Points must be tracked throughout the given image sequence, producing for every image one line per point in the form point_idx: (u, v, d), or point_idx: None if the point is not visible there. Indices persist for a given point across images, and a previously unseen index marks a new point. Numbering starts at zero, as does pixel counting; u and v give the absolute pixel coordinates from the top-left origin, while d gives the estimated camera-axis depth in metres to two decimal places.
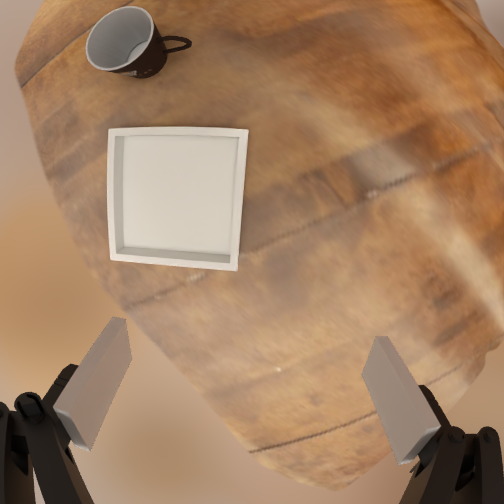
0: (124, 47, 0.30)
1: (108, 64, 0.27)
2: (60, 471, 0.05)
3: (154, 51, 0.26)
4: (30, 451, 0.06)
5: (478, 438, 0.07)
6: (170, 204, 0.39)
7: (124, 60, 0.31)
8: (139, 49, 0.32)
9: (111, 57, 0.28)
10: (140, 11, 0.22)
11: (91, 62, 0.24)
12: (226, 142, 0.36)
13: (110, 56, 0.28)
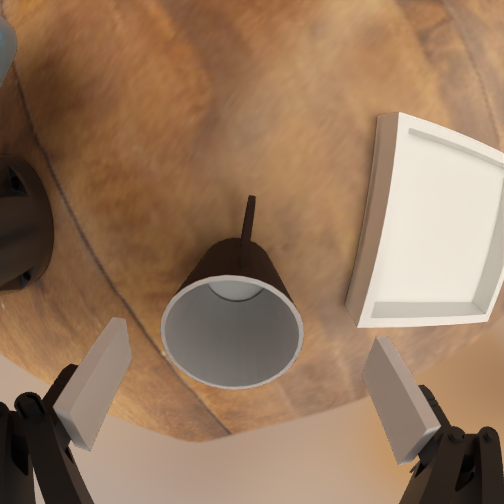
0: (217, 309, 0.25)
1: (261, 340, 0.22)
2: (60, 471, 0.05)
3: (260, 265, 0.19)
4: (29, 451, 0.06)
5: (478, 438, 0.07)
6: (453, 238, 0.24)
7: (238, 306, 0.26)
8: (218, 283, 0.27)
9: (242, 333, 0.23)
10: None
11: (272, 378, 0.18)
12: None
13: (240, 334, 0.23)
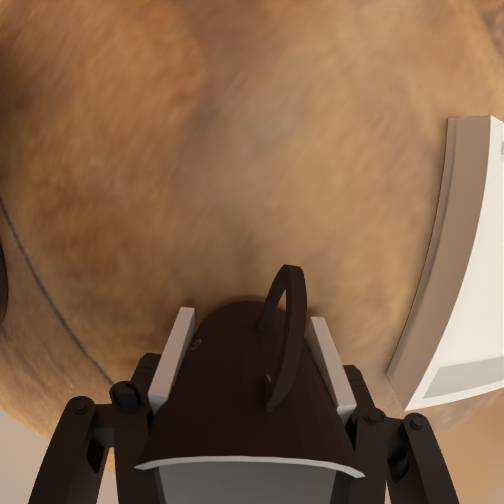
0: None
1: None
2: None
3: (299, 390, 0.09)
4: (114, 438, 0.07)
5: (404, 428, 0.08)
6: None
7: None
8: None
9: None
10: None
11: None
12: None
13: None
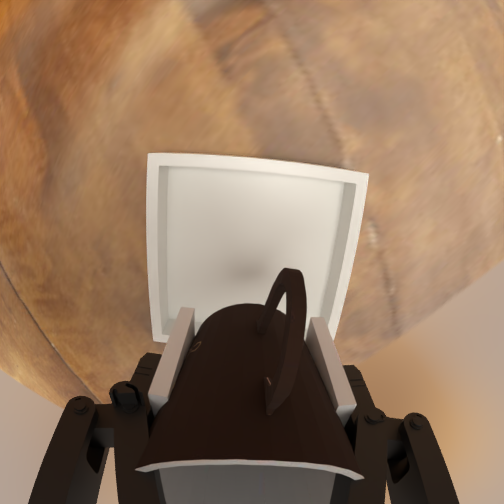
0: None
1: None
2: None
3: (299, 393, 0.09)
4: (114, 438, 0.07)
5: (404, 428, 0.08)
6: (263, 263, 0.28)
7: None
8: None
9: None
10: None
11: None
12: (175, 182, 0.25)
13: None
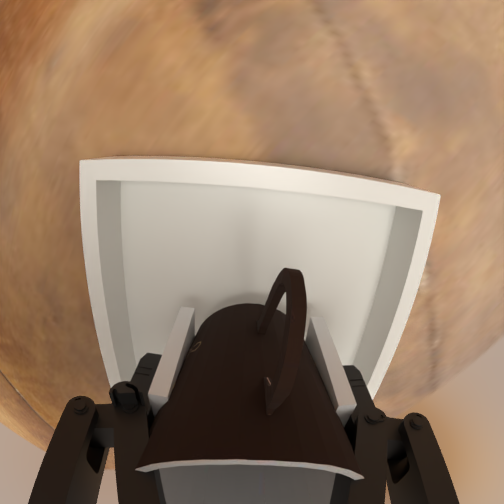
0: None
1: None
2: None
3: (299, 393, 0.09)
4: (114, 438, 0.07)
5: (404, 428, 0.08)
6: None
7: None
8: None
9: None
10: None
11: None
12: (131, 203, 0.16)
13: None
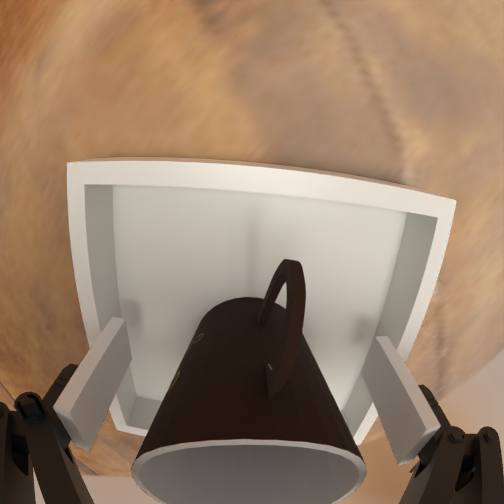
0: None
1: (288, 451, 0.12)
2: (60, 471, 0.05)
3: (299, 379, 0.10)
4: (29, 451, 0.06)
5: (478, 438, 0.07)
6: None
7: None
8: None
9: None
10: None
11: None
12: (123, 208, 0.14)
13: None
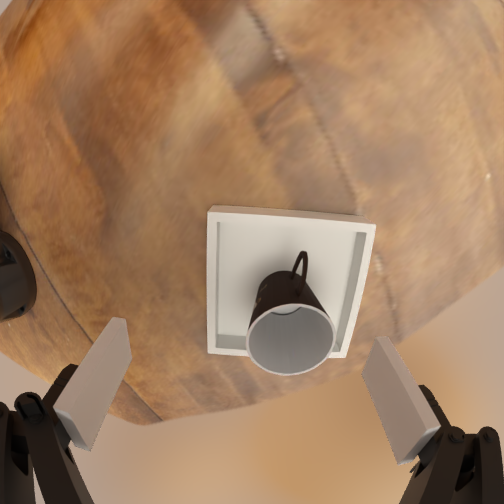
0: (270, 321, 0.35)
1: (305, 342, 0.31)
2: (60, 471, 0.05)
3: (307, 294, 0.28)
4: (29, 451, 0.06)
5: (478, 438, 0.07)
6: None
7: (284, 318, 0.36)
8: None
9: (290, 337, 0.33)
10: None
11: (315, 366, 0.28)
12: (225, 230, 0.34)
13: (288, 338, 0.33)
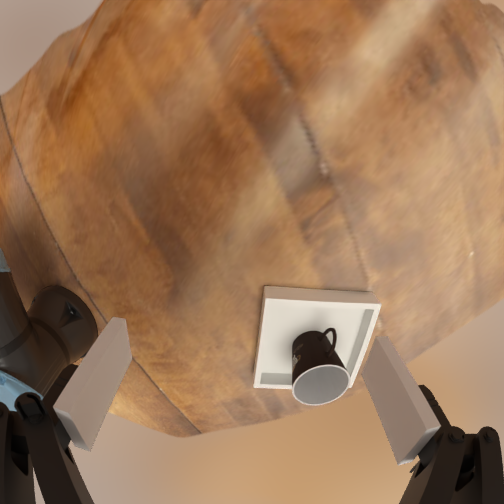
0: None
1: (326, 381, 0.43)
2: (60, 471, 0.05)
3: (332, 354, 0.40)
4: (29, 451, 0.06)
5: (478, 438, 0.07)
6: None
7: None
8: None
9: (315, 377, 0.44)
10: None
11: (334, 399, 0.39)
12: (273, 304, 0.45)
13: (315, 378, 0.44)
